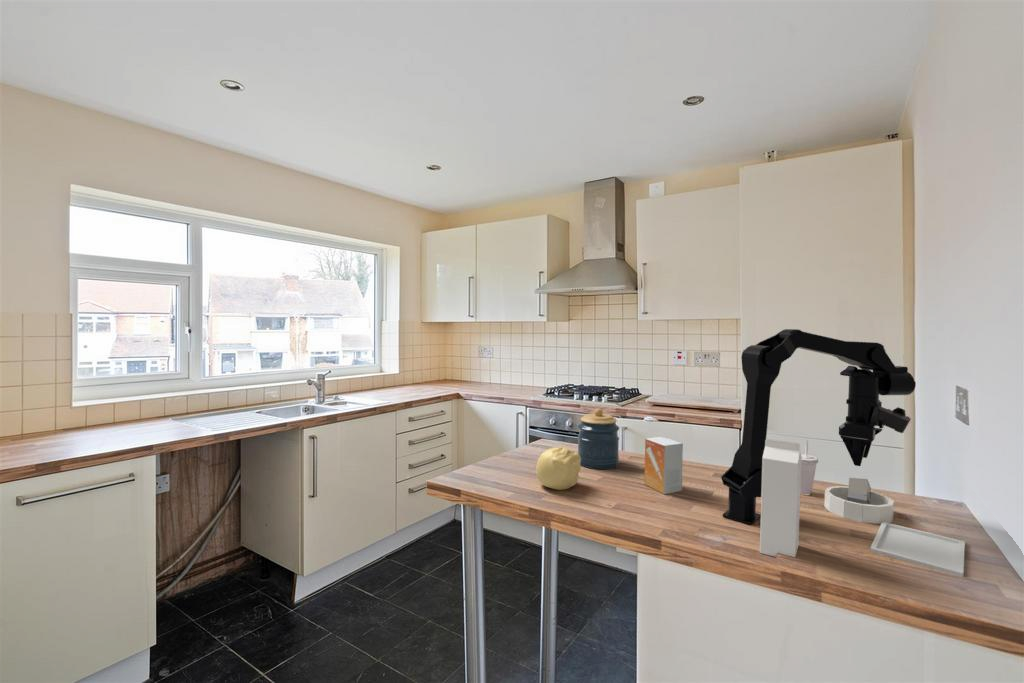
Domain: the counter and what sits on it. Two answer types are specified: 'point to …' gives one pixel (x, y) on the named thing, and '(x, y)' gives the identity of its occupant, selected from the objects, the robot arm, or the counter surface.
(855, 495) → the grey block
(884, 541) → the tray
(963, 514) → the counter surface
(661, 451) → the small box
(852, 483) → the grey block
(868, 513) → the bowl
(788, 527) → the milk
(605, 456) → the canister
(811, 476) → the smoothie
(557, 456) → the dough ball
